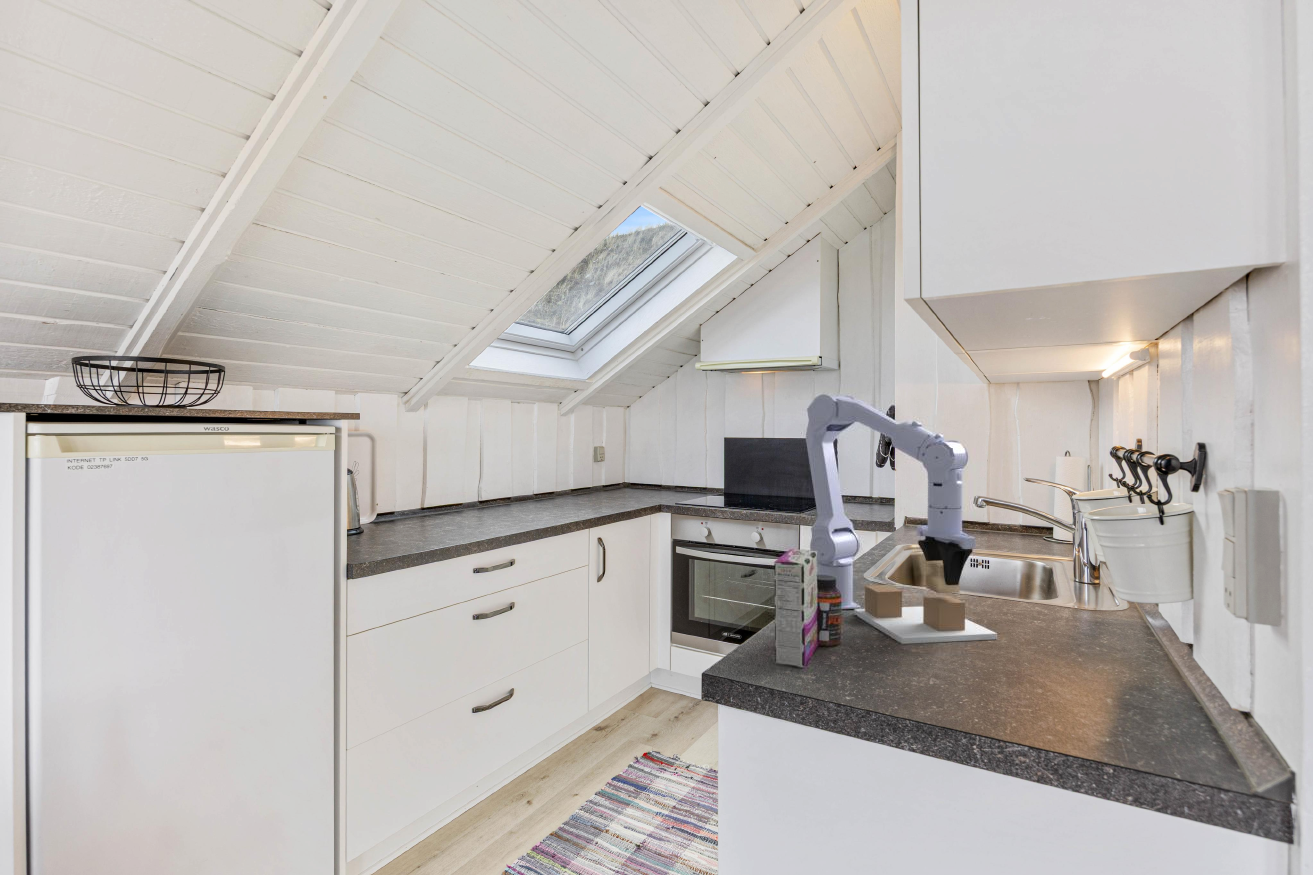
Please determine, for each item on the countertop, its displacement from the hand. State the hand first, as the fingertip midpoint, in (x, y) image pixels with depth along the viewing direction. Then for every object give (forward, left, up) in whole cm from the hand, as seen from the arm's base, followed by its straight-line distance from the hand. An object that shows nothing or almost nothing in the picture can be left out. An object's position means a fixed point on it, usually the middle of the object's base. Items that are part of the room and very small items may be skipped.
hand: (944, 581), depth 116 cm
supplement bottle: (+2, -24, -9) cm, 26 cm away
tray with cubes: (-4, -2, -9) cm, 10 cm away
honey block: (0, 0, -2) cm, 2 cm away
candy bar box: (+8, -31, -10) cm, 33 cm away
